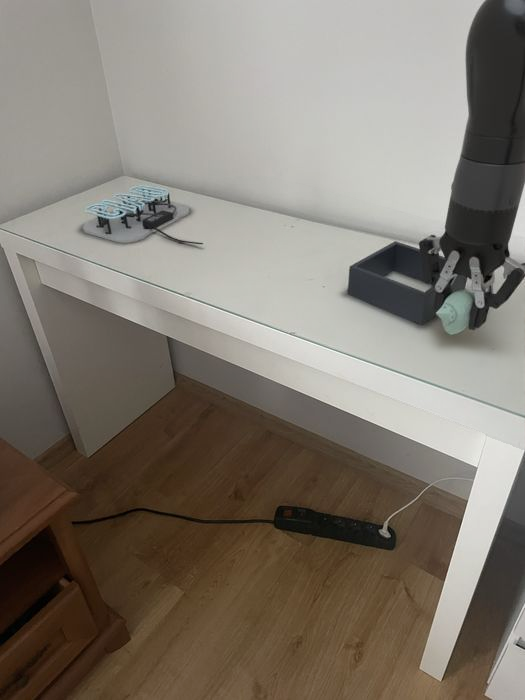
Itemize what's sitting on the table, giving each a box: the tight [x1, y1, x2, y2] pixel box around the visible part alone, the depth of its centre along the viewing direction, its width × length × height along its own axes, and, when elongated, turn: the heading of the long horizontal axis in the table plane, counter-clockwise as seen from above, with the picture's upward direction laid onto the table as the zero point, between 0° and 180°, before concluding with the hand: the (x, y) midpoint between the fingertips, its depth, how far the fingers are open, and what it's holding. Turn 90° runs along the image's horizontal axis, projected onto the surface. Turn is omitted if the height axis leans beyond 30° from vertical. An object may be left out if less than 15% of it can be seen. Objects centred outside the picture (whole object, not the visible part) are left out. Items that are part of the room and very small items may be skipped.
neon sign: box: [82, 184, 204, 245], centre depth 109 cm, size 21×4×29 cm
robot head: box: [436, 289, 475, 336], centre depth 70 cm, size 8×4×7 cm, turn 135°
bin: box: [347, 240, 468, 326], centre depth 83 cm, size 14×13×5 cm
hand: (457, 320), depth 71 cm, fingers closed on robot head, 4 cm apart
